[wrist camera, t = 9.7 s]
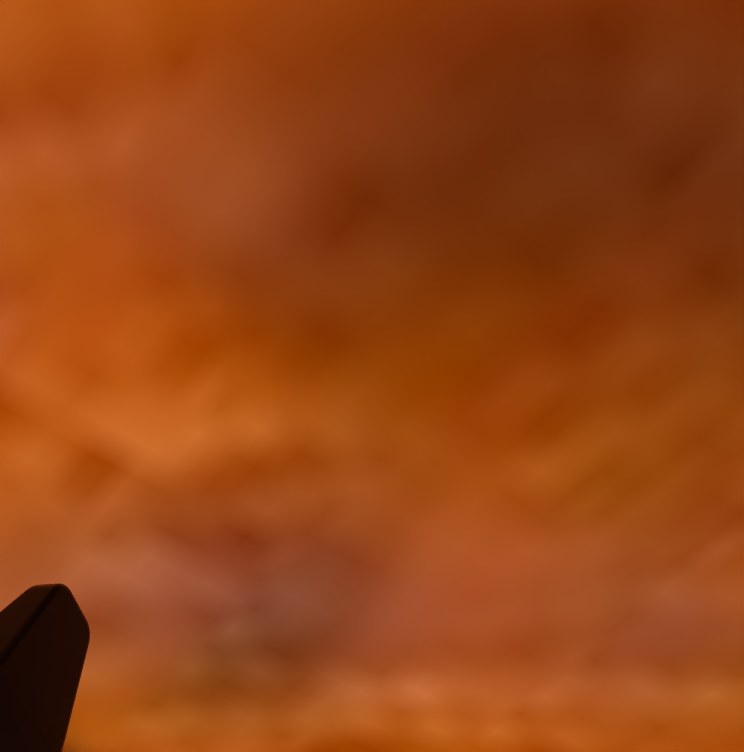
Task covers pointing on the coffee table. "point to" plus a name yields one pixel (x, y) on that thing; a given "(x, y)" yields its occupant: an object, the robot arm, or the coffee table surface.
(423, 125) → the coffee table surface
